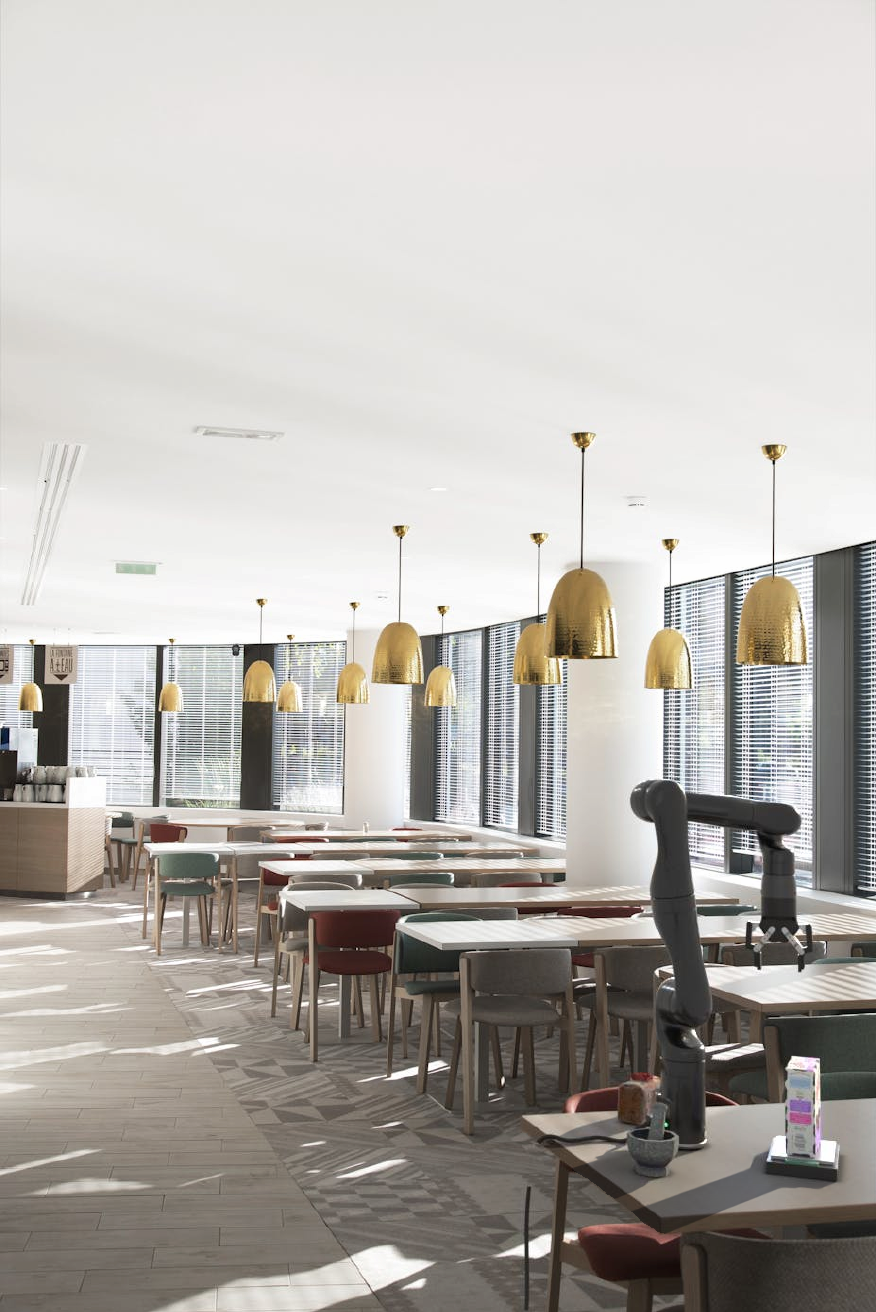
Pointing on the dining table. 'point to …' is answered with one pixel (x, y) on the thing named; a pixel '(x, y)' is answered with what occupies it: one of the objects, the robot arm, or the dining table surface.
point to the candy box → (802, 1107)
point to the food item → (637, 1098)
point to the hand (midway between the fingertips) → (779, 970)
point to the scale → (804, 1161)
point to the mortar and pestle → (653, 1145)
